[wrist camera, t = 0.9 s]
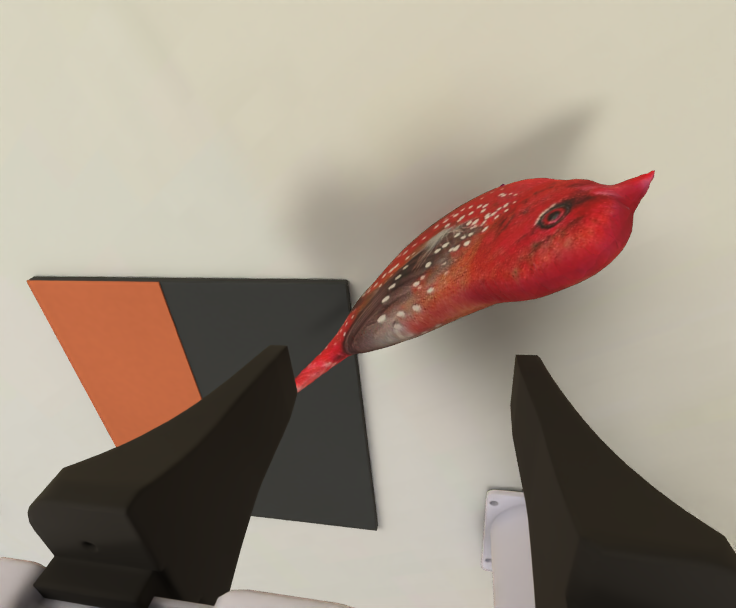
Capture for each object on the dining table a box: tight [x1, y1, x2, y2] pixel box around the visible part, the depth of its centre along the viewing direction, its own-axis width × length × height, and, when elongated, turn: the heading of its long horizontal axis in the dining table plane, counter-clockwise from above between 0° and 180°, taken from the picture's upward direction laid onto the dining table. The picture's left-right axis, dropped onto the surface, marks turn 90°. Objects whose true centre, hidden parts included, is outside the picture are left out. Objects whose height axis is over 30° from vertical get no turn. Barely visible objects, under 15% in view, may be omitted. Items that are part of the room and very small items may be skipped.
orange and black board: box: [27, 277, 378, 530], centre depth 32 cm, size 20×22×1 cm
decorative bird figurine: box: [295, 170, 655, 392], centre depth 19 cm, size 3×18×10 cm, turn 135°
